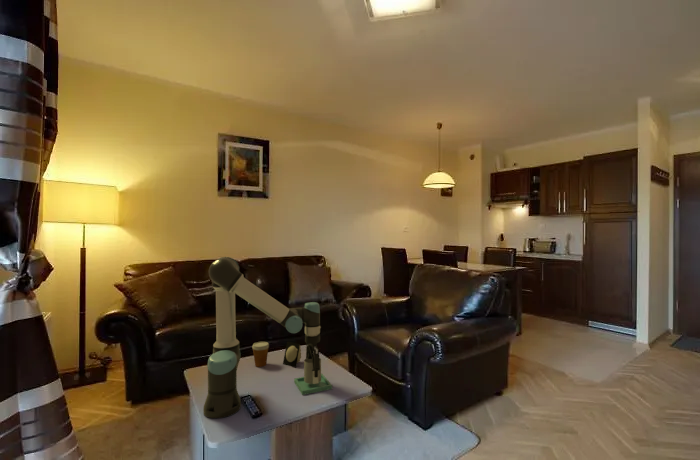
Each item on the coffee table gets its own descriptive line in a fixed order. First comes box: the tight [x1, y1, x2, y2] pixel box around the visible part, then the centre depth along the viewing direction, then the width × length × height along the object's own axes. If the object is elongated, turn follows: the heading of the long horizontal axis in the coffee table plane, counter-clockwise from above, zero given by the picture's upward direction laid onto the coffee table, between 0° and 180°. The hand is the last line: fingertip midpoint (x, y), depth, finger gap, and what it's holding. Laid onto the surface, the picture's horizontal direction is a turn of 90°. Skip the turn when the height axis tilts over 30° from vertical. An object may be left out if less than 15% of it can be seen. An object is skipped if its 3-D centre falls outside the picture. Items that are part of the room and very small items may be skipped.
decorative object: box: [282, 341, 302, 368], centre depth 196 cm, size 13×10×10 cm
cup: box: [303, 357, 322, 384], centre depth 168 cm, size 8×8×10 cm
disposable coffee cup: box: [251, 341, 270, 368], centre depth 194 cm, size 10×10×12 cm
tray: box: [293, 373, 333, 396], centre depth 168 cm, size 15×15×2 cm
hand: (312, 379), depth 168 cm, fingers closed on cup, 8 cm apart
